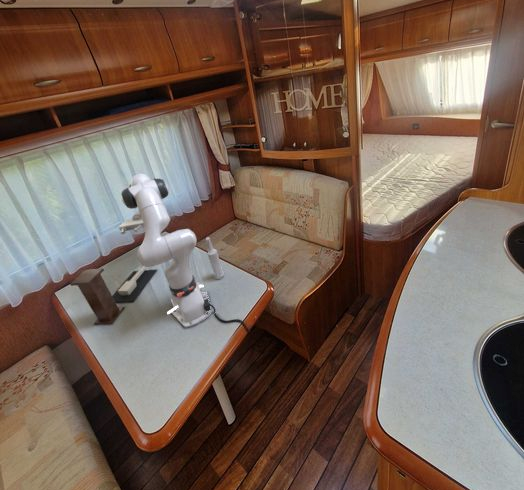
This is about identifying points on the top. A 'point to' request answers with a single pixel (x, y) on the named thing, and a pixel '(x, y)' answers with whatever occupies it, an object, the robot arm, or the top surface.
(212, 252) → the bottle
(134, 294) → the counter mat
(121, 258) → the top surface
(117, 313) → the stand
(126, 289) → the brush
